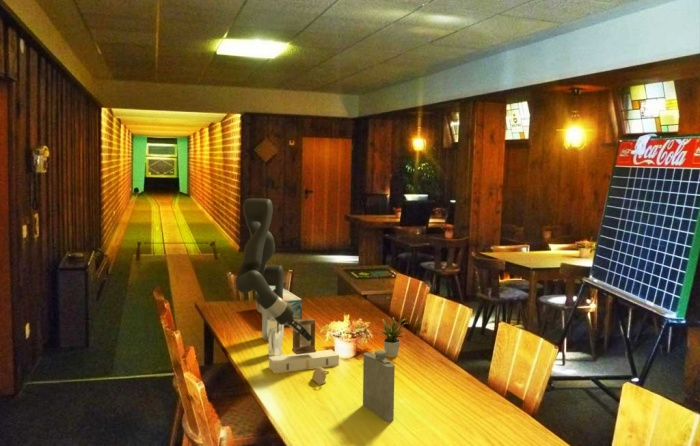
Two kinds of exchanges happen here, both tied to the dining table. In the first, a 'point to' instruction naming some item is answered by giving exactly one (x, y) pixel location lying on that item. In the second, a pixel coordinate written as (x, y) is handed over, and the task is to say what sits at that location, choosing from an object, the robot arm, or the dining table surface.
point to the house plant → (392, 338)
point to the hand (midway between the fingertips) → (308, 337)
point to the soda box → (290, 300)
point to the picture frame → (300, 342)
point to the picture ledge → (303, 361)
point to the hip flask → (378, 384)
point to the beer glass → (274, 337)
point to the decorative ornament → (319, 375)
